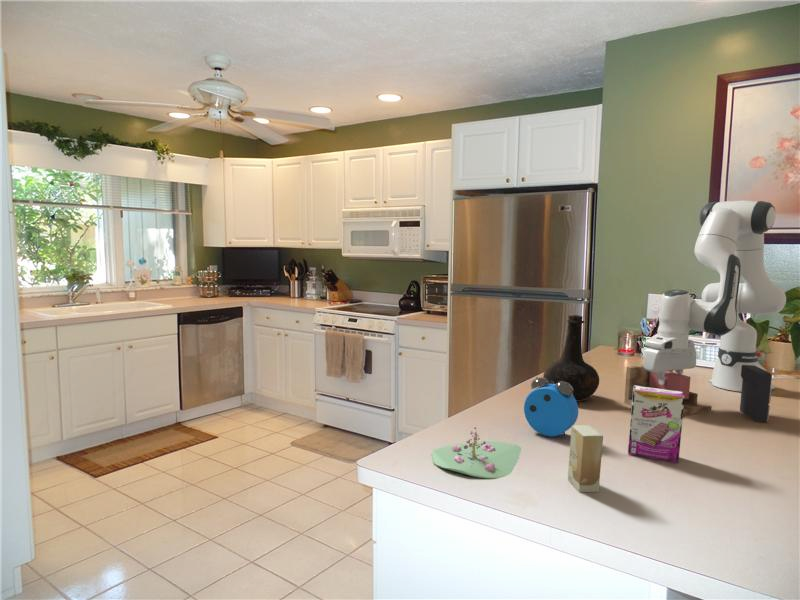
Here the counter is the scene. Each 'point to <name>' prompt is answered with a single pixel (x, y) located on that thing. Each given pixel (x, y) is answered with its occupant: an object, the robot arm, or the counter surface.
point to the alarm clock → (551, 407)
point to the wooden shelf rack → (641, 378)
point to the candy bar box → (656, 423)
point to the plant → (478, 458)
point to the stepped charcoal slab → (755, 393)
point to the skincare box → (585, 458)
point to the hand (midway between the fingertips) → (668, 383)
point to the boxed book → (671, 382)
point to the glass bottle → (574, 364)
